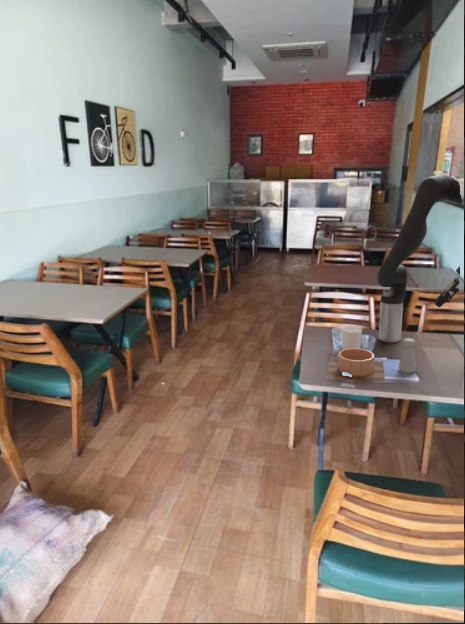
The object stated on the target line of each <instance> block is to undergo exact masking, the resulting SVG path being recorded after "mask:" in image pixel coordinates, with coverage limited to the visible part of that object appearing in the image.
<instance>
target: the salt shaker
mask: <svg viewBox="0 0 465 624" xmlns="http://www.w3.org/2000/svg"><path fill="white" fill-rule="evenodd" d="M402 345H403V350H402V354H401V357H400V360H399V364H398V368H399V371H400V372H401V373H403V374H408V375H410V374H414V373H415V371H416V370H417V364H416V355H415V348H414V347H416V345H417V343H416V340H415V339H414V338H410V337H408V338H404V339H403V340H402Z"/></svg>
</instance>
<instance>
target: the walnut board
mask: <svg viewBox="0 0 465 624" xmlns="http://www.w3.org/2000/svg"><path fill="white" fill-rule="evenodd" d="M384 366H385V365H384V361H383V360H374V370H373V373H372V374H371V375H368V376H363V377H354V376H352V377H349V376H343V375H342V373H341V372H340V371H339V370H338V357H330V358H329V360H328V366H327V373H326V379H325V380H335V381H349V382H350V381H351V382H360V383H361V382H362V383H375V384H384V385H385V384H386V377H385V376H386V375H385V367H384Z"/></svg>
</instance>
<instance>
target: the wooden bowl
mask: <svg viewBox="0 0 465 624" xmlns="http://www.w3.org/2000/svg"><path fill="white" fill-rule="evenodd" d="M337 358H338V370H339V371H340V372H341V373H342V372H347V373H349V374H351V375H352V376H354V377H363V376H368V375H371V374H372V373H373V370H374V361H375V354H374V353H373V352H372V351H370V350H367V349H363V348H360V349H358V348H350V349H343V348H342V349H341V350H339V351H338V357H337Z"/></svg>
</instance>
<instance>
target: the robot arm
mask: <svg viewBox="0 0 465 624" xmlns="http://www.w3.org/2000/svg"><path fill="white" fill-rule="evenodd" d="M459 182H460V181H458V180H457V179H455V177H452V176H451V175H448V174H445V173H444V174H443V173H442V174H435V175H434V176H428V177H426V178H424V179H422V181H421V182H420V185H419V186H418V189H417V191H416V194H415V195H414V196H415V197H414V199H413V203H412V205H411V207H410V210H409V212H408V214H407V217H406V218H405V221H404V223H403V225H402V227H401V228H400V230H399V233H398V235H397V237H396V239H395V241H394V244H393V246H392V247H391V249H390V251H389V253H388V254H387V256H386V258H385V259H384V261H383V262H382V264H381V265H380V267H379V270H378V272H377V276H376V277H377V284H378V285H379V286H380V287H383V288H389V289H388V290H386V292H384V293H382V294H381V295H380V305H379V306H380V307H379V322H378V323H379V324H378V325H379V326H378V339H379V341H382V342H385V343H397V342H400V341H401V339H402V337H401V336H402V324H403V311H404V298H405V297H406V291H407V284H408V272H407V268H406V267H405V265H403V264H402V263H403V262H405V261H406V260H407V259H408V258H410V257H412V255H413V254H414V253H416V252H417V251H418V250H419V248H420V247H421V245H422V243H423V241H424V239H425V237H426V236H427V229H428V227H427V224H428V223H427V218H428V216H429V214H430V211H431V210H432V209H433V207H434V205H435V204H436V203H437V204H438V203H441V202H445V201H448V202H452V203H455V204H456V205H457V204H458V205H459V206H461V207H462V199H461V195H460V185H459ZM455 272H456V273H457V275H458V276H460V265H459V266H458V267H457V268H456V269H455ZM458 276H457V277H455V278H453V279H452V280H451V281H450V282H449V283H448V285H447V286H446V287H445V289H444V291H442V292H441V293H440V294H439V296H437V298H436V301H435V302H434V305H435V306H436V307H437V308H441V307H442V306H443V305H444V304H446V302H448V301H449V300H451V299H452V298H453V297H455V296H457V295H458V293H460V291H459V283H460V282H459V278H458Z"/></svg>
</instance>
